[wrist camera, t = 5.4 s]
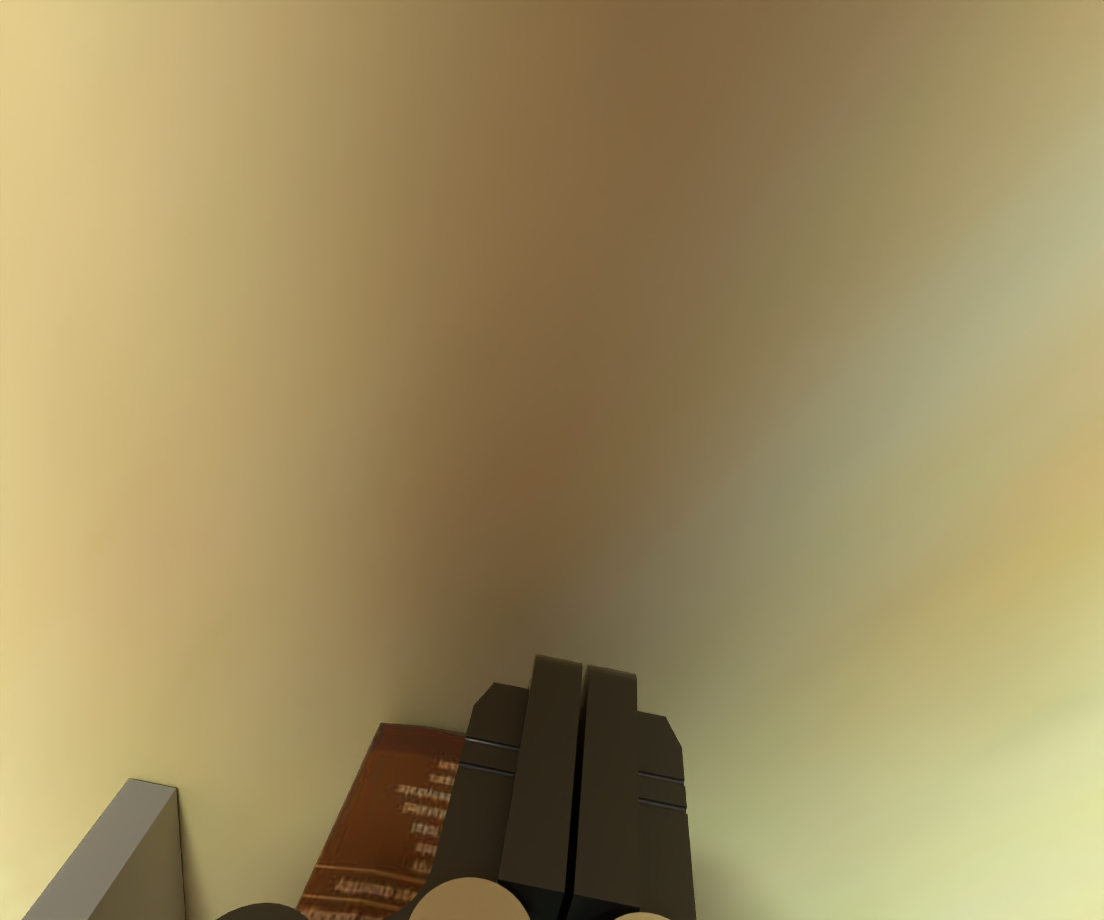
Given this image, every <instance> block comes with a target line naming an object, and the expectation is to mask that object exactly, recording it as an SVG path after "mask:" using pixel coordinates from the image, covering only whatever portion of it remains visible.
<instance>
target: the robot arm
mask: <svg viewBox="0 0 1104 920" xmlns="http://www.w3.org/2000/svg"><path fill="white" fill-rule="evenodd" d="M582 669H583V666H582V663H577V662H572V661H567V660H562V659H557V658H552V657H547V656H543V655H538V654H536V655H535V659H534V663H533V668H532V673H531V677H530V682H529V687H528V689H524V688H520V687H515V686H510V685H505V684H500V683H495V682H494V683H493V685H492V686H491V687H490V688H489V689H488V690H487V691H486V692H485V694H484V695H483V696H482V697H481V698H480V699H479V700H478V701H477V703H476V704H475V705H474V707H473V711H472V715H471V719H470V722H469V726H468V730H467V734H466V739H465V742H464V746H463V749H462V753H461V757H460V761H459V766H458V769H457V773H456V777H455V780H454V784H453V788H452V792H451V796H450V800H449V804H448V808H447V811H446V815H445V819H444V823H443V827H442V831H441V835H440V839H439V842H438V846H437V850H436V854H435V858H434V862H433V865H432V868H431V871H430V874H429V876H428V878H427V880H426V882H425V884H424V886H423V887H422V888H421V890H420V891H419V893H418V894H417V895H416V896H415V897H414V898H413V899H412V900H411V901H410V902H409V903H408V904H407V905H406V906H404V907H403V908H402V909H400V910H399V911H398V912H396V913H394V914H392V915H391V916H389V917H387V918H385V919H382V920H696V911H695V899H694V888H693V876H692V864H691V852H690V840H689V828H688V816H687V814H686V808H687V804H686V792H685V786H684V769H683V757H682V747H681V745H680V743H679V741H678V739H677V738H676V736H675V734H674V732H673V730H672V728H671V726H670V724H669V723H668V721H667V719H666V717H664V716H659V715H654V714H649V713H644V712H639V711H637V678H636V675H635V674H633V673H628V672H623V671H618V670H613V669H608V668H603V667H598V666H593V665H588V666H587V668H586V671H585V675H584V679H583V683H582V686H581V682H582ZM216 920H309V919H308V918H307V917H305V916H304V915H303V914H301V913H300V912H299V911H297V910H295V909H293V908H291V907H288V906H284V905H281V904H274V903H260V904H252V905H248V906H244V907H241V908H238V909H236V910H233V911H231V912H228V913H227V914H225V915H223V916H221V917H220V918H218V919H216Z"/></svg>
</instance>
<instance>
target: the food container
mask: <svg viewBox="0 0 1104 920" xmlns="http://www.w3.org/2000/svg"><path fill="white" fill-rule="evenodd" d="M465 739H466V735H464V734H459V733H454V732H449V731H444V730H439V729H434V728H429V727H423V726H411V725H399V724H387V723H380V725H379V727H378V730H377V732H376V734H375V736H374V738H373V741H372V743H371V745H370V747H369V749H368V752H367V754H366V756H365V758H364V760H363V762H362V765H361V767H360V769H359V771H358V773H357V776H356V778H355V780H354V782H353V784H352V787H351V789H350V791H349V793H348V795H347V797H346V800H345V802H344V804H343V806H342V808H341V811H340V813H339V815H338V817H337V819H336V822H335V824H334V826H333V828H332V830H331V832H330V835H329V837H328V839H327V841H326V843H325V846H324V848H323V850H322V852H321V854H320V857H319V859H318V861H317V863H316V865H315V867H314V870H313V872H312V874H311V876H310V878H309V881H308V883H307V885H306V887H305V889H304V892H303V894H302V896H301V898H300V900H299V902H298V905H297V907H296V909H295V910H297V911H299V912H300V913H301V914H303V915H304V916H305V917H307V918H308V919H309V920H382V919H385V918H387V917H389V916H391V915H392V914H394V913H396V912H398V911H399V910H400V909H402V908H403V907H404V906H406V905H407V904H408V903H409V902H410V901H411V900H412V899H413V898H414V897H415V896H416V895H417V894H418V893H419V891H420V890H421V888H422V887H423V886H424V884H425V882H426V880H427V878H428V876H429V874H430V871H431V868H432V865H433V862H434V858H435V854H436V850H437V846H438V842H439V839H440V835H441V831H442V827H443V823H444V819H445V815H446V811H447V808H448V804H449V800H450V796H451V792H452V788H453V784H454V780H455V777H456V773H457V769H458V766H459V761H460V757H461V753H462V749H463V746H464V742H465Z"/></svg>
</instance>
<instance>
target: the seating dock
mask: <svg viewBox="0 0 1104 920" xmlns="http://www.w3.org/2000/svg"><path fill="white" fill-rule="evenodd" d="M22 920H186V918H185V904H184V890H183V876H182V862H181V848H180V833H179V819H178V805H177V791H176V788H173V787H168V786H163V785H158V784H154V783H149V782H144V781H139V780H134V779H128V780H127V782H126V783H125V784H124V786H123V787H122V788H121V790H120V791H119V792H118V794H117V795H116V796H115V798H114V799H113V800H112V802H111V803H110V804H109V806H108V807H107V808H106V810H105V811H104V812H103V813H102V815H101V816H100V817H99V819H98V820H97V821H96V823H95V824H94V825H93V827H92V828H91V829H90V831H89V832H88V833H87V835H86V836H85V837H84V839H83V840H82V841H81V843H80V844H79V845H78V846H77V848H76V849H75V850H74V852H73V853H72V854H71V856H70V857H69V858H68V860H67V861H66V862H65V864H64V865H63V866H62V868H61V869H60V870H59V872H58V873H57V874H56V876H55V877H54V878H53V879H52V881H51V882H50V883H49V885H48V886H47V887H46V889H45V890H44V891H43V893H42V894H41V895H40V897H39V898H38V899H37V901H36V902H35V903H34V905H33V906H32V907H31V908H30V910H29V911H28V912H27V914H26V915H25V916H24V918H23V919H22Z"/></svg>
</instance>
